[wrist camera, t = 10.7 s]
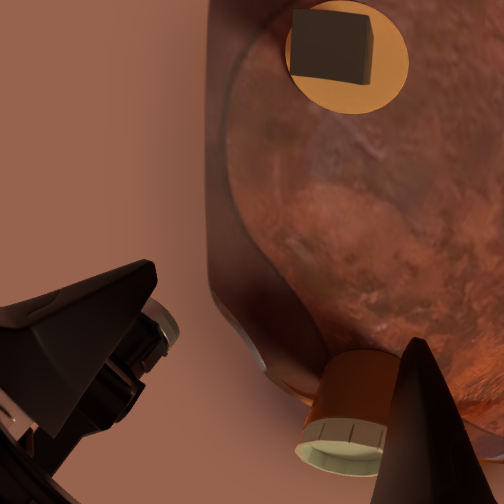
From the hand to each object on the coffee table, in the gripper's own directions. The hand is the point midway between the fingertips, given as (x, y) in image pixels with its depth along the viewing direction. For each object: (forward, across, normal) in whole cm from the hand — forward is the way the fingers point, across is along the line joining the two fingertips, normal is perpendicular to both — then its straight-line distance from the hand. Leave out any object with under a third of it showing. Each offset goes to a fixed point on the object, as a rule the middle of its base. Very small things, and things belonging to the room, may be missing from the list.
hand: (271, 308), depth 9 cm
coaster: (+11, 0, -8) cm, 14 cm away
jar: (+12, -7, +18) cm, 23 cm away
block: (+11, 0, -8) cm, 14 cm away
